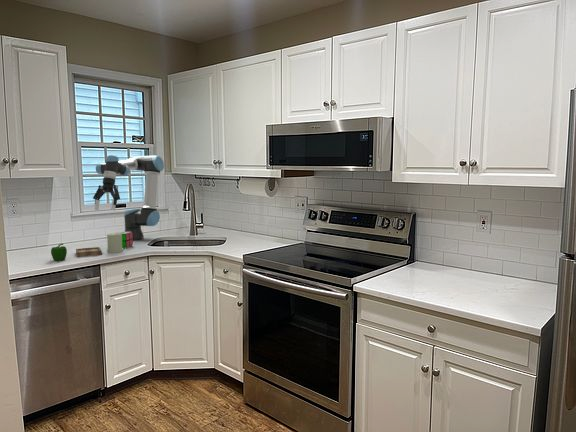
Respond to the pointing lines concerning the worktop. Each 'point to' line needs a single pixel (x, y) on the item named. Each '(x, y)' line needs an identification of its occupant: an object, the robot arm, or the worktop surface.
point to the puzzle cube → (126, 239)
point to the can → (114, 242)
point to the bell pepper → (59, 252)
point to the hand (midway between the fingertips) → (104, 210)
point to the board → (88, 251)
